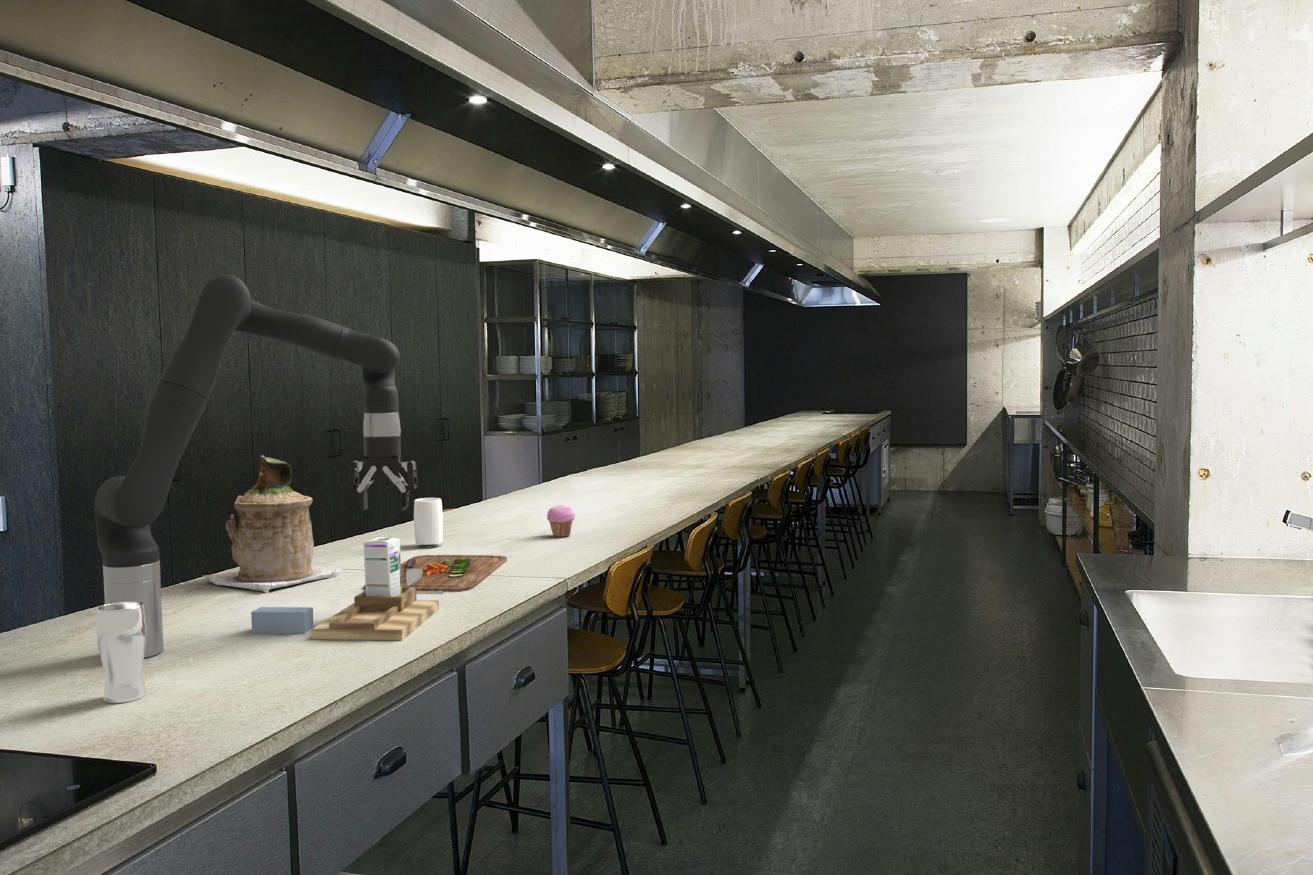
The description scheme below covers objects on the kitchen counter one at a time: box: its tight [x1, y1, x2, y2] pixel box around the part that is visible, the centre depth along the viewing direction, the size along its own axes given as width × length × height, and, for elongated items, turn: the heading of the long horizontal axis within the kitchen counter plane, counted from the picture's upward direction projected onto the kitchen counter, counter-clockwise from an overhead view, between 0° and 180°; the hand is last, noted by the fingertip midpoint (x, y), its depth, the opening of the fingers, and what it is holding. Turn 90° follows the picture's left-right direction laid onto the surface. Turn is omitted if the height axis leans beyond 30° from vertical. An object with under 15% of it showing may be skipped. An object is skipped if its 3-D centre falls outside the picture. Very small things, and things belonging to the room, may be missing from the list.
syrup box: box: [363, 536, 402, 596], centre depth 203 cm, size 6×6×14 cm
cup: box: [413, 497, 444, 545], centre depth 284 cm, size 8×8×14 cm
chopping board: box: [363, 554, 508, 595], centre depth 246 cm, size 45×27×3 cm, turn 175°
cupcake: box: [546, 504, 576, 538], centre depth 299 cm, size 9×9×10 cm
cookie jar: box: [202, 455, 342, 594], centre depth 239 cm, size 25×25×32 cm
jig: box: [311, 587, 440, 641], centre depth 197 cm, size 24×18×5 cm
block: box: [250, 606, 315, 634], centre depth 192 cm, size 11×4×4 cm, turn 86°
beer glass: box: [95, 601, 147, 704], centre depth 152 cm, size 7×7×15 cm
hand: (383, 509), depth 202 cm, fingers open, 8 cm apart
